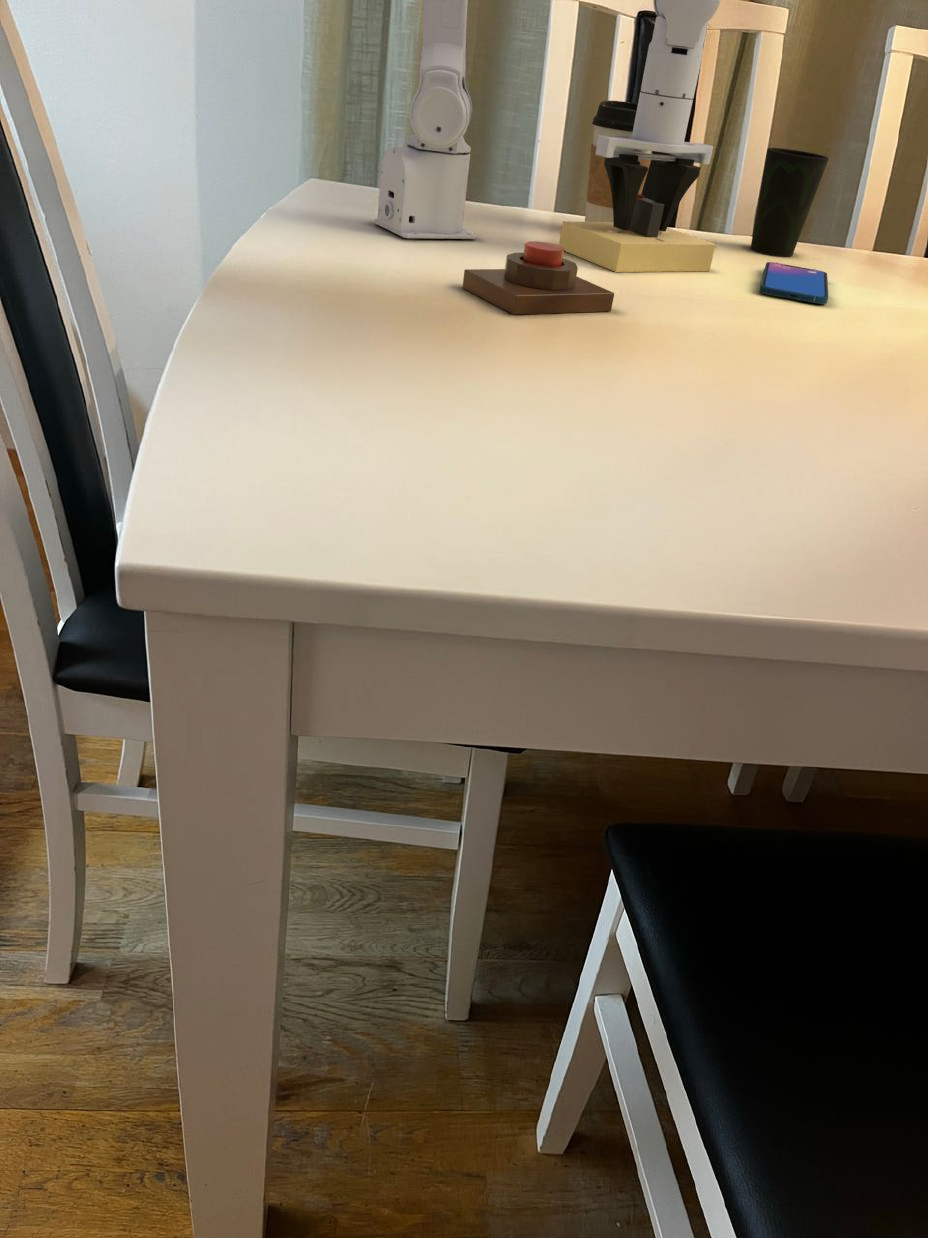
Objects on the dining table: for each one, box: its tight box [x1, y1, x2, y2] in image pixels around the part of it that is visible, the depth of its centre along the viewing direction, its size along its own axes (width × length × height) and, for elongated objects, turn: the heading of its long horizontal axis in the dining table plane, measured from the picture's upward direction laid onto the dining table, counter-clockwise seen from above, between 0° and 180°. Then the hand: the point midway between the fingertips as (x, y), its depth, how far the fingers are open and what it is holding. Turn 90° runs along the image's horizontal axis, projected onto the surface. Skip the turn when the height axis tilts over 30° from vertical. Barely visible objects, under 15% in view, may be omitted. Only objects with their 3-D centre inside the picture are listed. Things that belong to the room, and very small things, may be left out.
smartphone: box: [759, 261, 829, 305], centre depth 110 cm, size 7×1×15 cm
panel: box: [558, 220, 717, 273], centre depth 112 cm, size 14×11×3 cm
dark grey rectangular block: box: [628, 194, 664, 237], centre depth 111 cm, size 5×2×4 cm, turn 27°
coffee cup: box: [584, 100, 654, 222], centre depth 121 cm, size 8×8×15 cm
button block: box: [462, 252, 615, 316], centre depth 90 cm, size 11×9×4 cm
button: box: [523, 240, 565, 267], centre depth 89 cm, size 4×4×2 cm
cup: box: [750, 147, 830, 258], centre depth 126 cm, size 8×8×12 cm
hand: (639, 228), depth 111 cm, fingers open, 5 cm apart
